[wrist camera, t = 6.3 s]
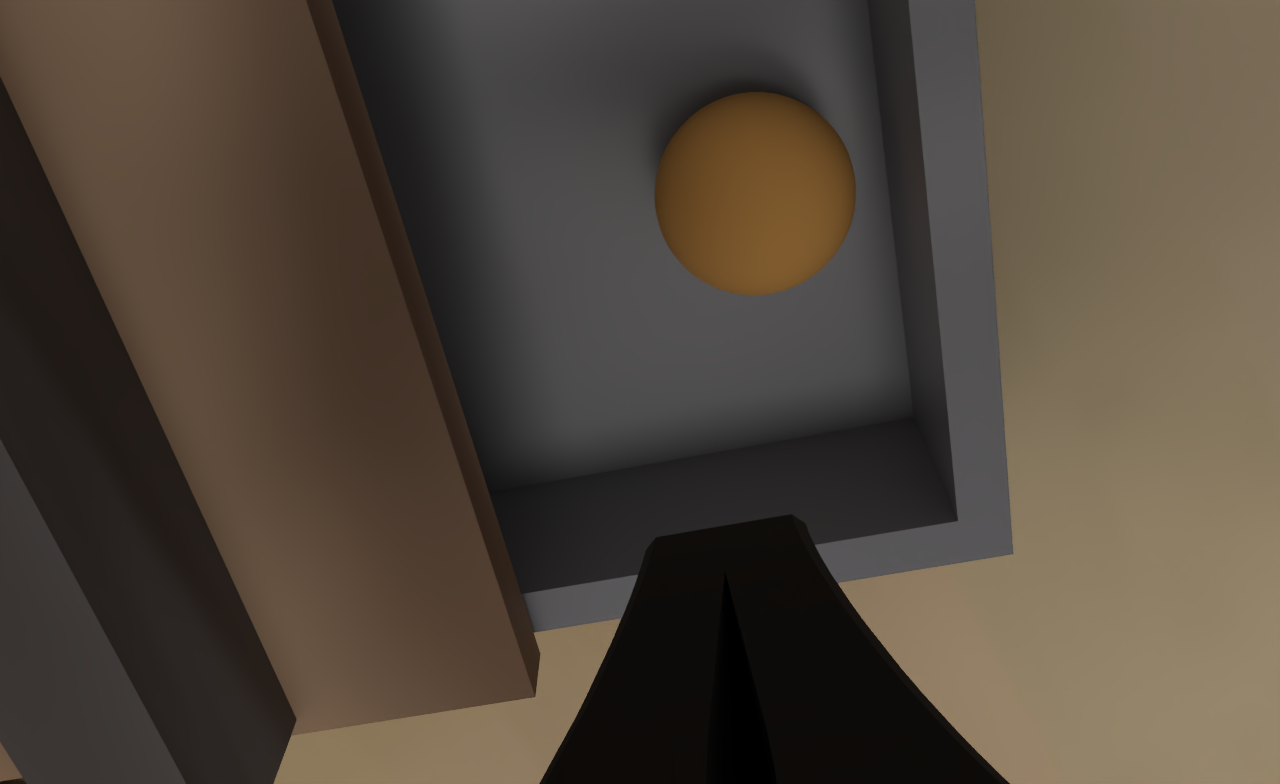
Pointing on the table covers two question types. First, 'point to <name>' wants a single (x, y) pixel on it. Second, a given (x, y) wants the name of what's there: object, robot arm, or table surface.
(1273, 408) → the table surface
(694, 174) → the ball
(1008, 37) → the table surface
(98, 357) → the lid
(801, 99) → the storage box
